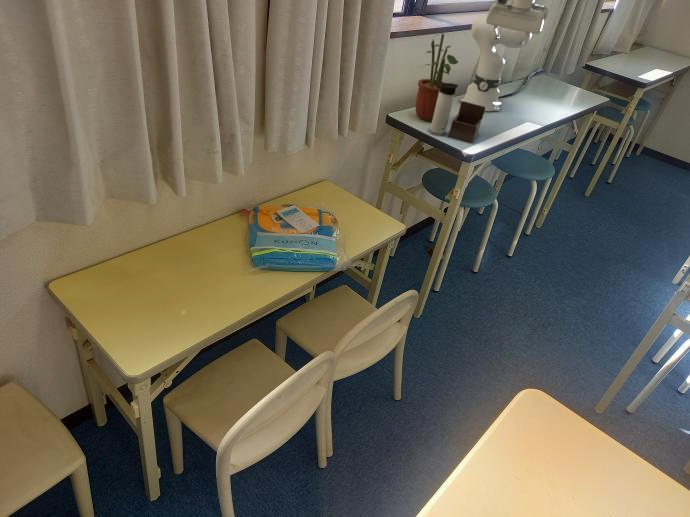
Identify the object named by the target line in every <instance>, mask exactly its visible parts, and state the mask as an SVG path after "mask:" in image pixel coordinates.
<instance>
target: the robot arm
mask: <svg viewBox="0 0 690 517" xmlns="http://www.w3.org/2000/svg"><path fill="white" fill-rule="evenodd" d="M534 2H535V0H494V3H493V4H492V5H491V6H490V8H489V10H488V12H487V14H483V15H482V14H481V15H478V16H477V17H476V18H475V19H474V20H473V22H472V25H471V27H470V28H471V30H470V32H471V36H472V38H473V39H474V40H475V42H476V44H477V46H478V50H479V61H478V65H477V70H476V73H475V74H474V76H473V80H472V83H470V84H469V85H468V87H467V89H466V93H465V96H464V97H462V98H461V99H460V103H461V102H462V101H465V102H469V103H473V104H477V105H480V106H484V107H486V108H485V112H500V105H501V104H502V102H500V100H499V99H502V98H506V97H509V96H512V95H515V94H517V93H518V92H520V91H521V90H522V89H523V88H524V87H525V86H526V84H527V82H528V81H529V80H530V79H531V77H532V76H533V75H535V74H537V73H540V72H544V71H545V69H544V68H541V69H539V70H536V71H533V72H532V73H530V74H529V75H528V77H527V78H528V80H527V82H526V83H525V85H523V84H522V85H523V86H522V85H521V87H519V88H518V89H516V90H515V91H513V92H511V93H507V94H504V95H500V92H501V89H500V88H499V87H500V84H501V76H502V73H503V70H504V67H505V62H506V61H505V59H504V57H503V55H501V54H500V53H499V52H498V51H497V50H496V46H500V47H505V48H510V49H523V48H524V47H526V46H527V45H528V44H529V43H530V41H531V38H532V35H539V34H540V33H541V32H542V29H543V26H544V21H545V20H546V19H547V18H548V15H549V9H548V8H547V7H546V5H541V4H537V3H534ZM543 69H544V70H543Z"/></svg>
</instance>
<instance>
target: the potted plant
mask: <svg viewBox="0 0 690 517" xmlns="http://www.w3.org/2000/svg"><path fill="white" fill-rule="evenodd" d="M438 35H440V41H439V43H438V44H435V38H433V39H432V41H431V43H430V47H431V50H428V51H426V53H425V54H430V53H431V63H427V64H424V65H423V66H421V68H423V67H426V66H430V78H422V79H419V80H418V83H417V87H418V89H417V94H416V100H415V112H416V116H417V117H418V118H419V119H420V120H422V121H425V122H432V120H433V116H434V111H435V107H436V103H437V99H438V94H439V91H440V87H441V85H442V84H444V83H445V82H444V81H443V76H444V74H447V75H450V72H451V70H452V68H451V65H457V64H459V63H460V62H459V61H458V60H457V58H456V57H455V56H454V55H452V54H448V49H450V48H451V47H452V45H447V46H445V49H442V48H443V43H444V38H445V33H444V32H442V33H439V34H436V35H435V37H437V36H438ZM437 47H438V51H437V57H436V60H435V54H436V53H435V52H436V48H437ZM442 52H443V54H442V56H441V53H442ZM440 57H441V58H440ZM446 60H447V62H448V63H446ZM439 63H440V64H439ZM438 67H439V68H438Z"/></svg>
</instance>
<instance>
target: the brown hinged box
mask: <svg viewBox="0 0 690 517" xmlns="http://www.w3.org/2000/svg"><path fill="white" fill-rule="evenodd" d="M485 108H486V107H484V106H480V105H477V104H473V103H469V102H465V101H462V102H461V101H460V106H459V110H458V112H457V114H456V115H455V117H454V118H453V119H452V121H451V124H450V128H449V132H448V136H447V137H448V138H452V139H455V140H458V141H462V142H466V143H470V144H473V143H474V141H475V139H476V138H477V137H478V136H479V131H480V129H481V125H482V121H483V119H484V115H485V112H486V111H485Z"/></svg>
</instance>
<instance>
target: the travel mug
mask: <svg viewBox="0 0 690 517" xmlns="http://www.w3.org/2000/svg"><path fill="white" fill-rule="evenodd" d="M458 88H459V85H458V84H455V83H451V82H444V84H442V85H441V87H440V91H439V94H438V99H437V103H436V107H435V111H434V116H433V120H432V121H431V125H430V129H429V132H430V133H431V134H432V135H436V136H444V135H446V130H447V128H448V122H449V120H450V115H451V111H452V107H453V104H454V100H455V96H456V91H457V89H458Z"/></svg>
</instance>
